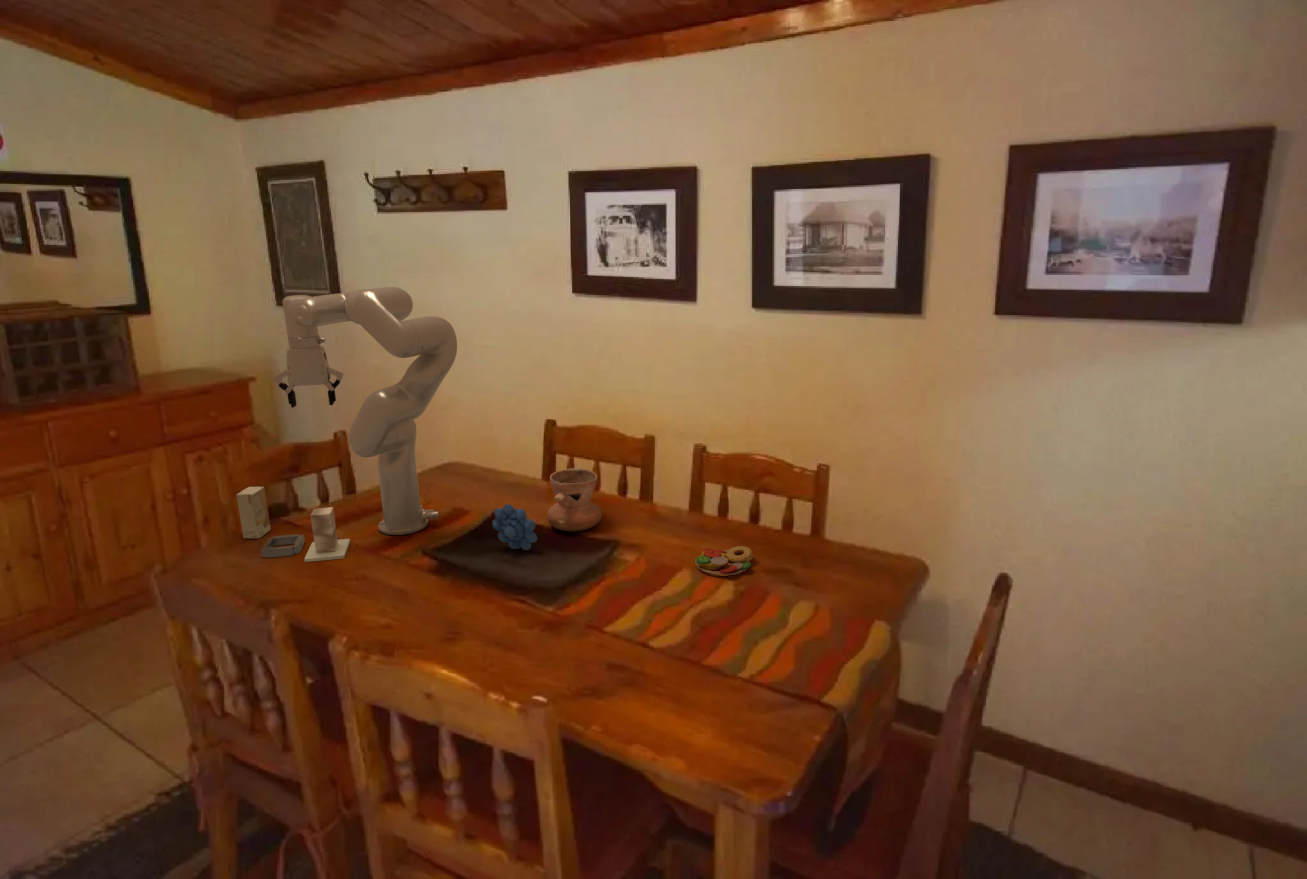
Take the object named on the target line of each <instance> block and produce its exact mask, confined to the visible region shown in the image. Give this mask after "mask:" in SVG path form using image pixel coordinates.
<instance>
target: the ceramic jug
mask: <svg viewBox="0 0 1307 879" xmlns="http://www.w3.org/2000/svg"><path fill="white" fill-rule="evenodd" d="M597 480H598V475H597V473H596V472H595V471H592V470H590V469H586V468H574V467H573V468H565V469H560V470H557V471H555V472H553V473H551V474H550V476H549V482H550V486H551V489H552V492H553V494H554V501H556V503H554V504H553V505H552V506H550V507H549V509H548V510H547V513H546V519H547V522H548V523H549V525H550V526H552V527H553V528H554V529H557V530H560V531H563V532H581V531H586V530H589V529H591V528H594V527H595V526H596V525H597V524H599V522H600V521H601V519H602V517H603V516H602V515H603V513H602V510H601V509H600V507H599V506H598V505H597V504H595V503H594V502H592V501H591V498H592V496H593V494H594V492H595V489H596V486H597Z"/></svg>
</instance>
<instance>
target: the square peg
mask: <svg viewBox="0 0 1307 879" xmlns="http://www.w3.org/2000/svg"><path fill="white" fill-rule="evenodd" d="M309 516H310V521H311V528H312V534H313V535H312V536H313V542H315V549H316V553H325V552H335V551H336V548H337V546H338V540H339V539H338V534H337V533H338V532H337V527H336V518H335V510H334V507H333V506H330V507H319V508H318V507H317V508H313V509H312V512H311V513H310V515H309Z"/></svg>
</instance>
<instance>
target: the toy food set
mask: <svg viewBox="0 0 1307 879" xmlns="http://www.w3.org/2000/svg"><path fill="white" fill-rule="evenodd" d="M753 556H754V554H753V551H752V549H751V548H750V547H747V546H744V545H741V546H739V545H738V546H733V547H730V548H729V549H728V550H727V549H711V548H709V547H708V548H707V547H706V548H704V549H703V550H702V551H701V552H700V554H699V555H698V556H697V557H696V558H695V561H694V563H695V566H696V567H697V568H698V569H699V570H700V571H701V570H702V572H703V571H704V572H707V573H709V574H713V575H734V574H738V573H741V572H743V571H744V572H745V571H746V570H748V569H749V568H750V567H751V566H752V565H751V560H753ZM728 563H731V564H730V565H728ZM713 571H720V572H713ZM704 572H703V573H704ZM744 572H743V573H744ZM709 574H708V575H709ZM741 574H742V573H741ZM713 575H712V576H713ZM738 575H739V574H738Z"/></svg>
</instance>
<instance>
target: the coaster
mask: <svg viewBox="0 0 1307 879" xmlns="http://www.w3.org/2000/svg"><path fill="white" fill-rule="evenodd" d="M350 543H351V539H350V538H342V539H338V546H337V548H336V551H335V552H325V553H316V549H315V542H314V541H312V542H311V544H310V545H309V549H308V550H307V552H306V554H305V557H304V558H303V559H304V560H303V561H304V563H310V562H321V561H328V560H329V561H331V560H340V559H345V557H346V554H347V553H348V552H347V551H348V549H349V547H350Z"/></svg>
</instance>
